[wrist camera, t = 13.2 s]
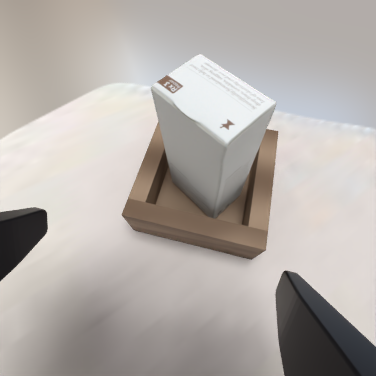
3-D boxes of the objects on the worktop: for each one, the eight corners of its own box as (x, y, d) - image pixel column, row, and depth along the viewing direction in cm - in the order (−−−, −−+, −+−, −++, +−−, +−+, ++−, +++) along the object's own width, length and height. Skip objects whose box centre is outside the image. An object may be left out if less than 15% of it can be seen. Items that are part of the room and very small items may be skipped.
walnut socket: (251, 259, 21) (265, 250, 17) (134, 230, 23) (121, 214, 19) (264, 157, 26) (278, 131, 22) (167, 137, 27) (163, 110, 23)
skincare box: (241, 194, 23) (287, 99, 12) (210, 224, 22) (230, 148, 11) (198, 156, 25) (204, 46, 14) (167, 182, 24) (147, 83, 13)
